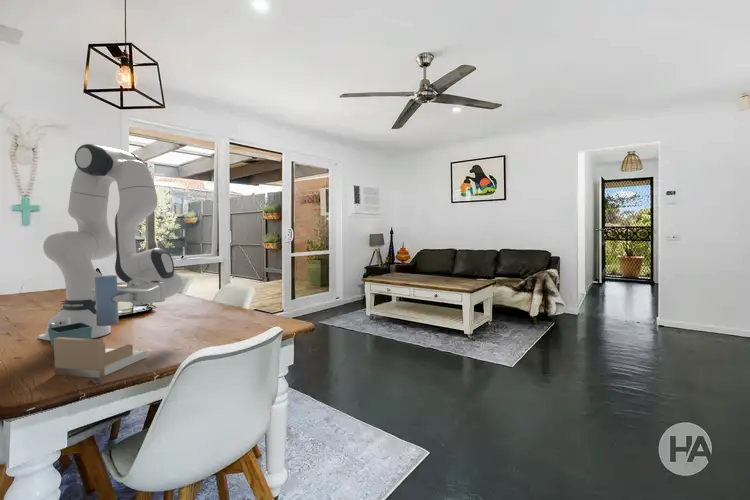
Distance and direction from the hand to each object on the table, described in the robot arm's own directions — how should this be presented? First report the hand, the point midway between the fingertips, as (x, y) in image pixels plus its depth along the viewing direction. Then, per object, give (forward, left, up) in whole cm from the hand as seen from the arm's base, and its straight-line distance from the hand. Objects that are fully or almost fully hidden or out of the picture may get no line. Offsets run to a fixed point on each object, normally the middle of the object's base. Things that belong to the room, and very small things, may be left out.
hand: (104, 299), depth 105 cm
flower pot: (-18, +5, -20) cm, 27 cm away
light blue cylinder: (0, +1, -7) cm, 8 cm away
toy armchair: (0, -1, -19) cm, 20 cm away
